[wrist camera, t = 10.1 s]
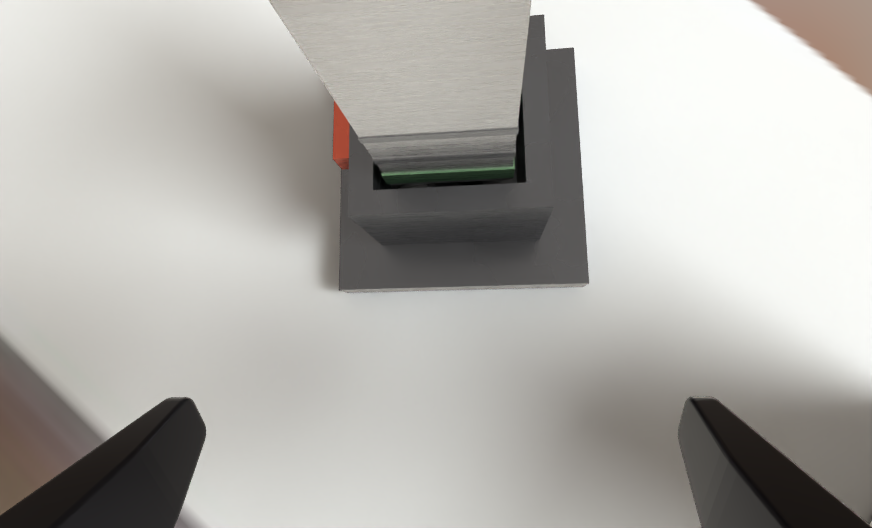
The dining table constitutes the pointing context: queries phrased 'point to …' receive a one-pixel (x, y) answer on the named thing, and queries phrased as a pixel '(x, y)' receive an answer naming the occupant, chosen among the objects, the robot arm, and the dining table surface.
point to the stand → (475, 203)
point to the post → (421, 80)
